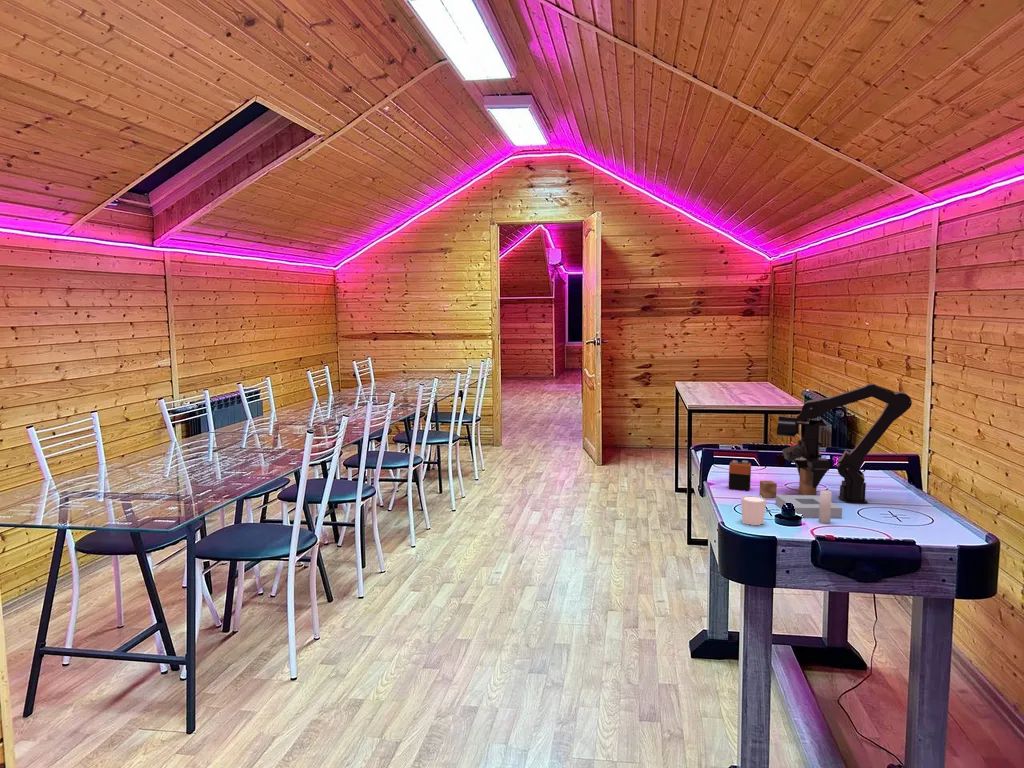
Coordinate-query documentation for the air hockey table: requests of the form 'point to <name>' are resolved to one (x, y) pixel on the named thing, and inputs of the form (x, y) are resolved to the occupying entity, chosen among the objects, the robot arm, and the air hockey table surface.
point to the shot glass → (753, 510)
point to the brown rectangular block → (806, 483)
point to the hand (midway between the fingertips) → (808, 484)
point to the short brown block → (768, 489)
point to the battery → (739, 475)
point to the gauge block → (812, 505)
